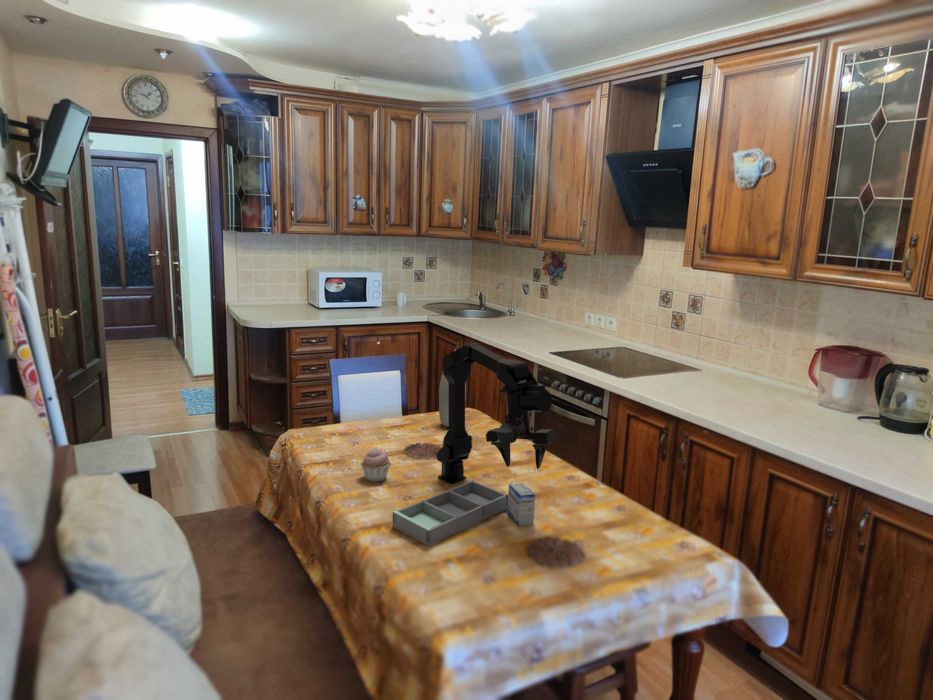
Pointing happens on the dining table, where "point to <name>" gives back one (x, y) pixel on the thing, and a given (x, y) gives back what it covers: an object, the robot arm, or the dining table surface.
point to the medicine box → (521, 504)
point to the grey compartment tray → (449, 512)
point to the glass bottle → (445, 400)
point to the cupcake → (375, 465)
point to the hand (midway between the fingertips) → (523, 467)
